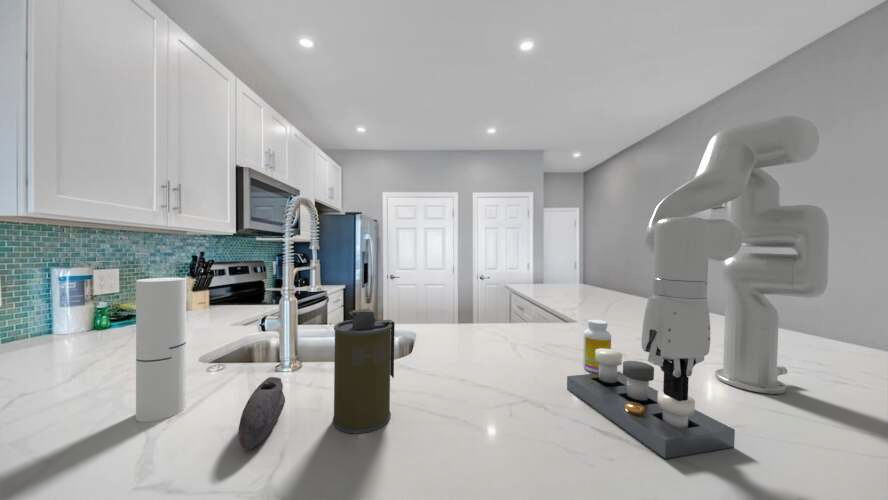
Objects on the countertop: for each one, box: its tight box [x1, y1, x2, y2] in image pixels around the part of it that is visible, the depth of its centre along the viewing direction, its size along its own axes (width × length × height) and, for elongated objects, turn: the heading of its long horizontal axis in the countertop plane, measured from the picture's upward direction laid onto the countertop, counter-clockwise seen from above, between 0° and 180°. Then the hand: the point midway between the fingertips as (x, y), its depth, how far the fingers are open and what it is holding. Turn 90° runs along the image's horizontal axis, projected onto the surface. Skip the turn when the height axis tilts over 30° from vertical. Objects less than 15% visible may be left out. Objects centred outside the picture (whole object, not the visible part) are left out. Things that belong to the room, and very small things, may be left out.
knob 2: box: [657, 389, 696, 430], centre depth 56 cm, size 5×5×6 cm
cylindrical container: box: [135, 277, 187, 423], centre depth 62 cm, size 7×7×25 cm
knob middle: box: [622, 360, 655, 400], centre depth 64 cm, size 5×5×6 cm
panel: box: [566, 371, 736, 461], centre depth 64 cm, size 25×14×4 cm, turn 14°
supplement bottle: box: [582, 318, 612, 374], centre depth 87 cm, size 7×7×13 cm
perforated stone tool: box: [238, 376, 286, 450], centre depth 56 cm, size 15×5×7 cm, turn 10°
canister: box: [332, 308, 396, 434], centre depth 61 cm, size 11×10×20 cm
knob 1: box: [595, 348, 623, 383], centre depth 72 cm, size 5×5×6 cm
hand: (675, 396), depth 56 cm, fingers closed
